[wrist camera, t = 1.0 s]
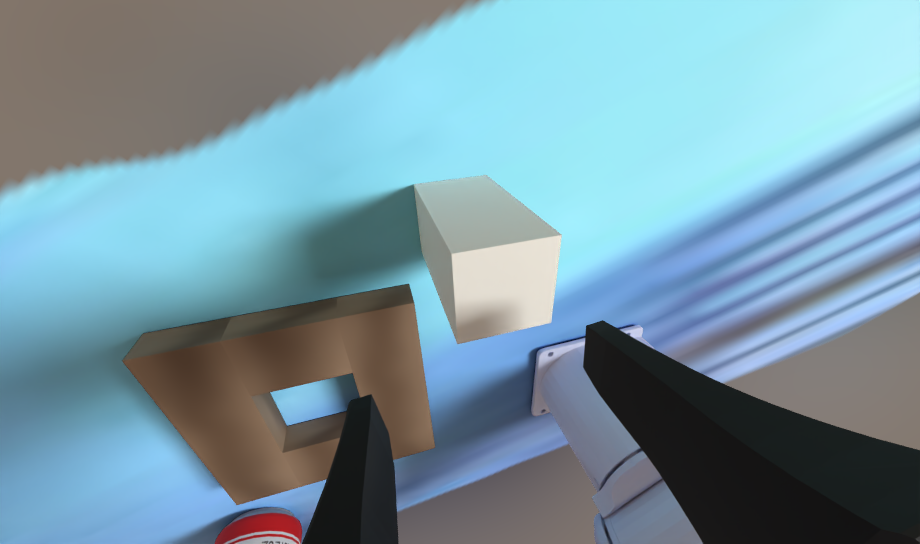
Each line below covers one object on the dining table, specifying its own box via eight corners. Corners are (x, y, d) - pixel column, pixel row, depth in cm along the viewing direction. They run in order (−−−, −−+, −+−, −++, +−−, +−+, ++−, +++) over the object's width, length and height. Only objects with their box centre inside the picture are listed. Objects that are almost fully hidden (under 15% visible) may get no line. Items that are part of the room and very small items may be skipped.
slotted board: (409, 283, 21) (414, 302, 19) (430, 425, 28) (435, 447, 26) (143, 333, 18) (121, 360, 16) (244, 476, 25) (236, 505, 24)
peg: (486, 174, 19) (561, 234, 12) (486, 240, 21) (551, 322, 14) (413, 184, 18) (451, 253, 11) (421, 251, 20) (457, 344, 13)
